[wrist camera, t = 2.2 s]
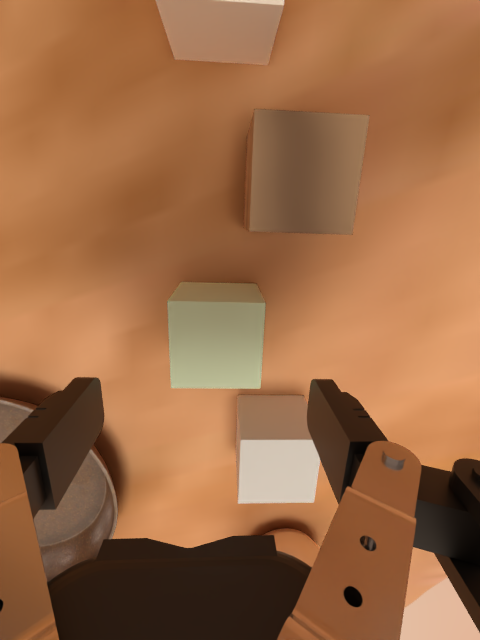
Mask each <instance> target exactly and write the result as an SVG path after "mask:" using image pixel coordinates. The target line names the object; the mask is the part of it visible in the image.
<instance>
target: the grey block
mask: <svg viewBox="0 0 480 640" xmlns="http://www.w3.org/2000/svg"><path fill="white" fill-rule="evenodd" d="M307 409H308V404H307V402H306V400H305V398H304V395H238V401H237V429H236V467H237V491H238V503H314V499H315V492H316V485H317V478H318V471H319V464H320V458H319V455H318V453H317V450H316V448H315V445H314V443H313V440H312V438H311V435H310V433H309V430H308V426H307Z"/></svg>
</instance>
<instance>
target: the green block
mask: <svg viewBox="0 0 480 640" xmlns="http://www.w3.org/2000/svg"><path fill="white" fill-rule="evenodd" d="M167 307H168V330H169V354H170V377H171V388H232V389H260V388H261V372H262V356H263V340H264V324H265V308H266V303H265V300H264V298H263V296H262V294H261V292H260V290H259V287H258V285H257V284H254V283H213V282H180V284H179V285H178V286H177V288H176V289H175V291H174V292H173V294H172V295H171V296H170V298H169V299H168V301H167Z"/></svg>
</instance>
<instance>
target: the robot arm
mask: <svg viewBox="0 0 480 640" xmlns="http://www.w3.org/2000/svg"><path fill="white" fill-rule="evenodd" d="M103 423H104V408H103V400H102V392H101V384H100V380H99V378H90V377H77V378H74V379H73V380H72V382H71V383H70V384H69V385H68V386H67V387H66V388H65V389H64V390H63V391H58V392H56V393H54V394H53V395H51V396H49V397H47V398H46V399H44V400H43V401H42V402H41V403H40V404H39V405H38V406H37V407H36V410H33V411H32V412H31V413H30V414H29V415H28V418H26V419H25V420H24V421H23V422H22V423H21V424H20V425H19V426H18V427H17V428H16V429H15V430H14V431H13V432H12V433H11V434H10V435H9V436H8V437H7V438H6V439H5V440H4V441H3V442H2V443H1V444H0V640H400V634H401V626H402V619H403V612H404V605H405V598H406V591H407V584H408V577H409V570H410V563H411V556H412V549H413V547H416V548H419V549H423V550H426V551H429V552H433V553H434V554H435V556H436V557H437V559H438V561H439V562H440V564H441V566H442V568H443V569H444V571H445V573H446V575H447V576H448V578H449V580H450V581H451V583H452V585H453V587H454V588H455V590H456V592H457V594H458V595H459V597H460V599H461V601H462V602H463V604H464V606H465V607H466V609H467V611H468V613H469V615H470V616H471V618H472V620H473V622H474V623H475V625H476V627H477V628H478V630H479V632H480V461H478V460H474V459H459V460H457V461H456V462H455V463H454V465H453V468H452V471H451V472H450V471H445V470H441V469H436V468H432V467H427V466H424V465H421V463H420V461H419V459H418V458H417V457H416V456H415V455H414V454H413V453H412V452H411V451H410V450H408V449H406V448H405V447H403V446H401V445H399V444H396V443H393V442H389V441H388V440H387V438H386V437H385V436H384V434H383V433H382V432H381V430H380V429H379V428H378V426H377V425H376V424H375V422H374V421H373V420H372V418H370V416H369V414H368V413H367V412H366V411H364V408H363V406H362V405H361V404H360V402H359V401H358V400H357V399H356V398H354V397H353V396H351V395H350V394H348V393H347V392H341V391H340V389H339V388H338V387H337V385H336V384H335V382H334V381H333V380H332V379H313V380H312V381H311V384H310V392H309V401H308V409H307V426H308V430H309V433H310V435H311V438H312V440H313V443H314V445H315V448H316V450H317V453H318V455H319V458H320V460H321V462H322V465H323V467H324V470H325V472H326V475H327V477H328V480H329V482H330V485H331V487H332V490H333V492H334V495H335V497H336V499H337V502H338V504H339V506H338V508H337V511H336V513H335V515H334V518H333V520H332V522H331V525H330V527H329V529H328V532H327V534H326V536H325V539H324V541H323V543H322V546H321V548H320V550H319V553H318V555H317V557H316V560H315V562H314V564H313V567H311V566H309V565H308V564H306V563H305V562H303V561H302V560H300V559H298V558H296V557H294V556H292V555H289V554H287V553H284V552H281V551H277V550H276V544H275V538H274V535H253V536H232V537H228V538H225V539H221V540H218V541H214V542H211V543H207V544H204V545H201V546H197V547H194V548H184V547H180V546H176V545H172V544H168V543H164V542H160V541H156V540H152V539H148V538H136V539H103V542H102V545H101V547H100V550H99V553H98V555H97V556H95V557H92V558H89V559H87V560H84V561H82V562H80V563H78V564H76V565H74V566H72V567H70V568H68V569H66V570H65V571H63V572H62V573H60V574H58V575H57V576H55V577H54V578H53V579H51V580H50V581H49V582H47V577H46V573H45V568H44V564H43V559H42V555H41V550H40V546H39V541H38V537H37V532H36V528H35V524H34V517H35V516H36V514H37V513H38V511H39V510H56V508H57V507H58V505H59V503H60V501H61V500H62V498H63V496H64V494H65V493H66V491H67V489H68V487H69V486H70V484H71V482H72V481H73V479H74V477H75V475H76V474H77V472H78V470H79V468H80V467H81V465H82V463H83V461H84V460H85V458H86V456H87V455H88V453H89V451H90V449H91V448H92V446H93V444H94V442H95V441H96V439H97V437H98V435H99V434H100V432H101V430H102V427H103Z"/></svg>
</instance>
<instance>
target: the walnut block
mask: <svg viewBox="0 0 480 640" xmlns="http://www.w3.org/2000/svg"><path fill="white" fill-rule="evenodd" d="M369 116H370V115H359V114H340V113H322V112H303V111H285V110H266V109H254V113H253V116H252V120H251V124H250V128H249V132H248V135H247V148H246V176H245V205H244V229H246V230H248V231H252V232H282V233H312V234H343V235H353V228H354V221H355V214H356V207H357V200H358V193H359V186H360V179H361V172H362V165H363V158H364V151H365V144H366V137H367V130H368V123H369Z"/></svg>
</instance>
